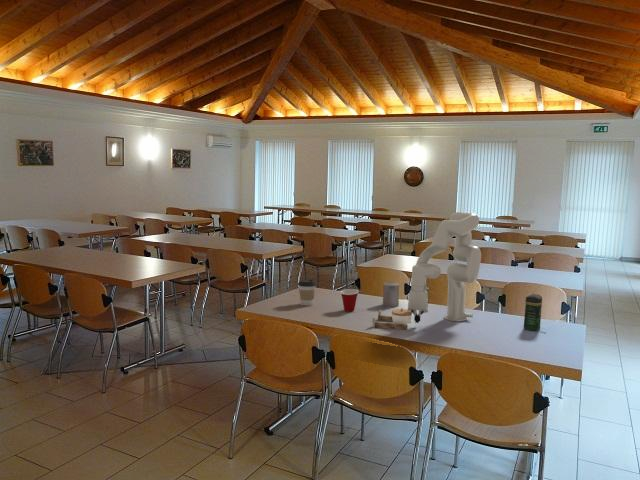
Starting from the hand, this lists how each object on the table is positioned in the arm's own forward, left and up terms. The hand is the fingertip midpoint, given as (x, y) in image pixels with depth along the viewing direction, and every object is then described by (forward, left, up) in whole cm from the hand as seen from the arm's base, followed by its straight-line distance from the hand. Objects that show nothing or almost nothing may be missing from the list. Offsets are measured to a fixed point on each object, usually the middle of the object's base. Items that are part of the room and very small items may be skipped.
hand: (417, 322), depth 296 cm
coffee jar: (-59, -17, -3) cm, 61 cm away
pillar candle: (+21, -43, -3) cm, 48 cm away
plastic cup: (+42, -21, -3) cm, 47 cm away
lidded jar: (+8, 0, -3) cm, 9 cm away
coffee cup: (+70, -27, -3) cm, 76 cm away
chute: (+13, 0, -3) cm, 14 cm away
